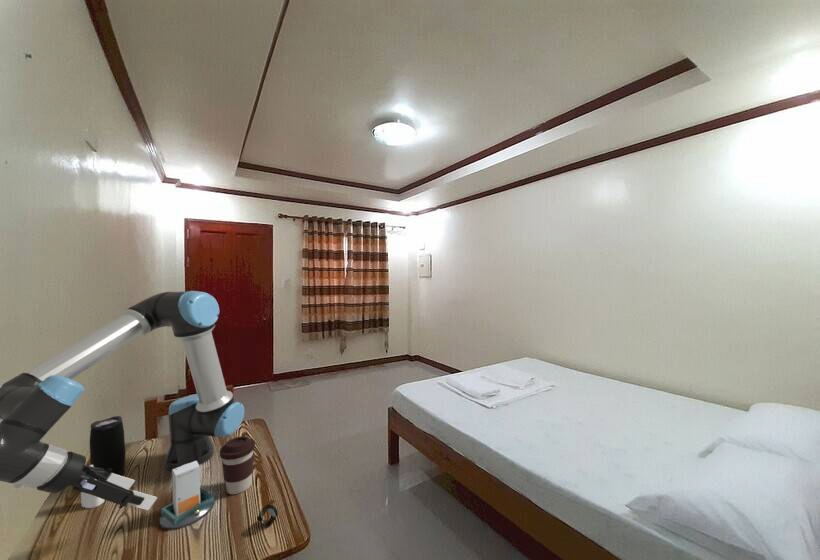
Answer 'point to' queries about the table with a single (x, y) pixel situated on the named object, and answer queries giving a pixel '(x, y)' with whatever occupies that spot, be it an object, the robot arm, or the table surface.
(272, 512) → the smartwatch
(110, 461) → the portable speaker
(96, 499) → the eye dropper bottle
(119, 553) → the table surface
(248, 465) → the coffee cup
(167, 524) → the keyed nest
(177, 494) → the skincare box
